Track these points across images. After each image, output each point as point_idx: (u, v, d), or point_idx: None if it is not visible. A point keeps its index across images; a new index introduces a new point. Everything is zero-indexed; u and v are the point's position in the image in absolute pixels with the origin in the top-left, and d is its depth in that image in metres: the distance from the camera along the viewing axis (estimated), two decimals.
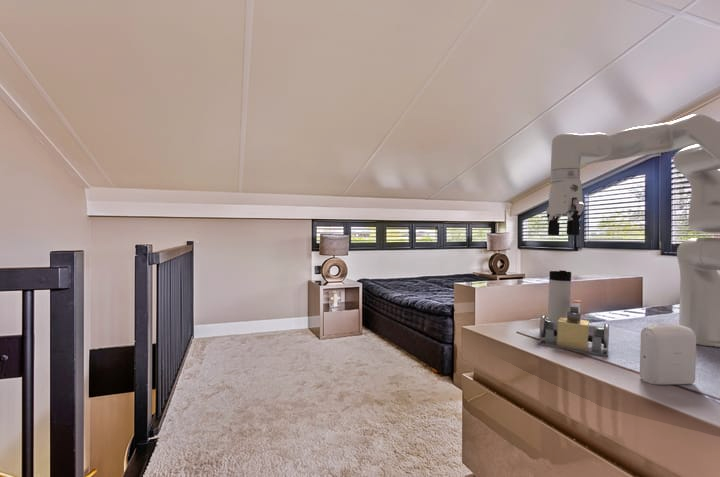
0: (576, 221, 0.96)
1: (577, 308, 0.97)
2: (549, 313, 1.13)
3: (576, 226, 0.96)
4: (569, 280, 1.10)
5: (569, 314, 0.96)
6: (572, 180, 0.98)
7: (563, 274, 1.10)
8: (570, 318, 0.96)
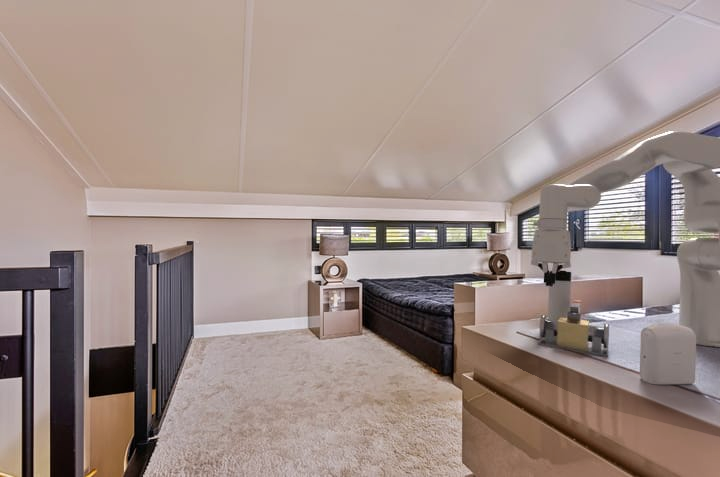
0: (544, 273, 1.06)
1: (577, 308, 0.97)
2: (549, 313, 1.13)
3: None
4: (569, 280, 1.10)
5: (569, 314, 0.96)
6: None
7: (563, 274, 1.10)
8: (570, 318, 0.96)
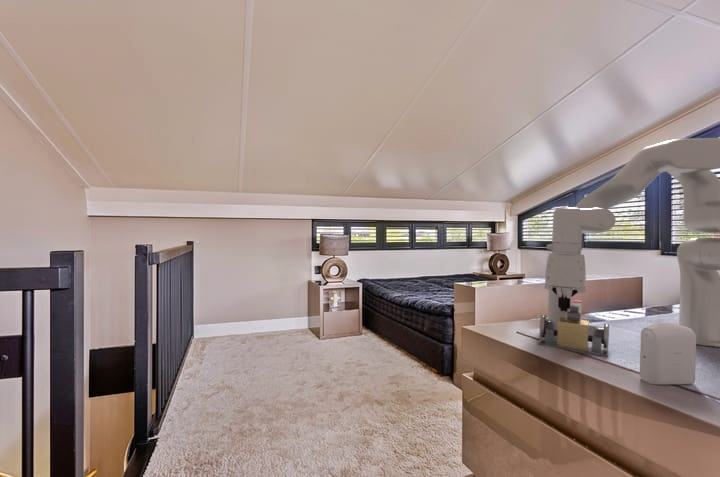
0: None
1: (577, 308, 0.97)
2: (549, 313, 1.13)
3: (558, 302, 1.04)
4: None
5: (569, 314, 0.96)
6: None
7: None
8: (570, 318, 0.96)
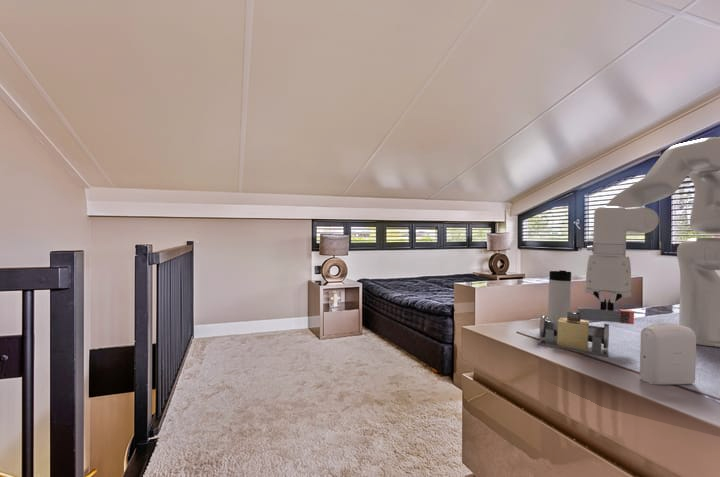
0: None
1: (579, 309, 0.96)
2: (549, 313, 1.13)
3: None
4: (569, 280, 1.10)
5: None
6: None
7: (563, 274, 1.10)
8: (567, 317, 0.98)
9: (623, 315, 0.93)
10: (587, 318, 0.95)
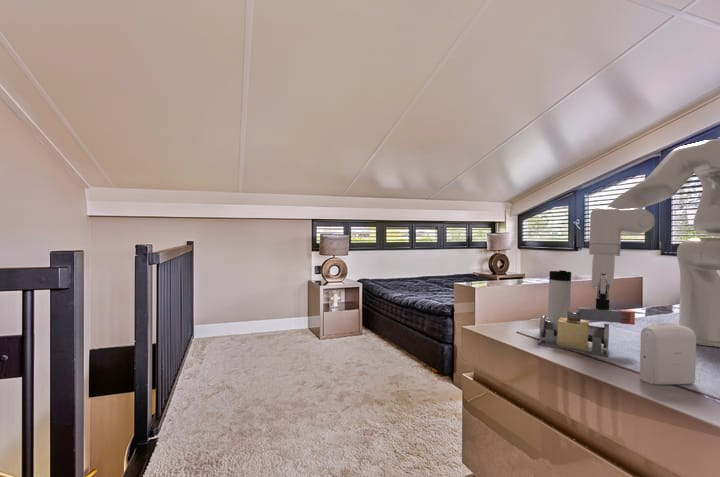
0: None
1: (579, 309, 0.96)
2: (549, 313, 1.13)
3: None
4: (569, 280, 1.10)
5: None
6: None
7: (563, 274, 1.10)
8: (567, 317, 0.98)
9: (624, 315, 0.93)
10: (587, 318, 0.95)
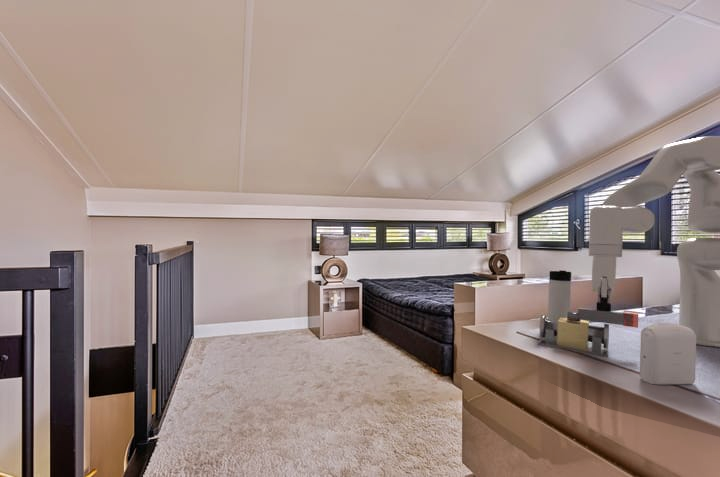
0: None
1: (578, 309, 0.96)
2: (549, 313, 1.13)
3: None
4: (569, 280, 1.10)
5: None
6: None
7: (563, 274, 1.10)
8: None
9: (626, 318, 0.90)
10: (586, 319, 0.94)
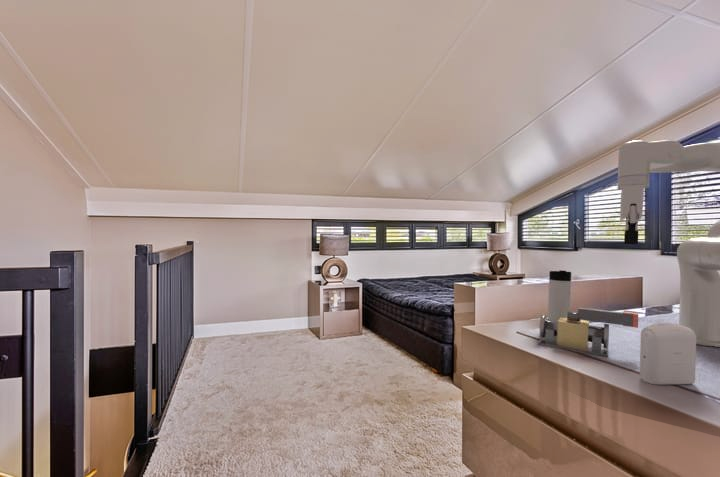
0: None
1: (578, 309, 0.96)
2: (549, 313, 1.13)
3: None
4: (569, 280, 1.10)
5: None
6: None
7: (563, 274, 1.10)
8: None
9: (626, 318, 0.90)
10: (586, 319, 0.94)
